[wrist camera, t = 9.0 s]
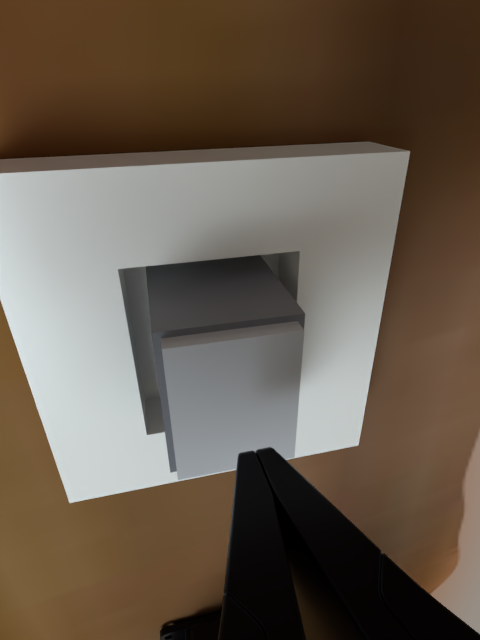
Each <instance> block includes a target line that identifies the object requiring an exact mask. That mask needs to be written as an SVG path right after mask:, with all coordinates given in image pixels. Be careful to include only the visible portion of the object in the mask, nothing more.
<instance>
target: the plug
mask: <svg viewBox="0 0 480 640" xmlns="http://www.w3.org/2000/svg"><path fill="white" fill-rule="evenodd" d="M146 278H147V289H148V300H149V312H150V323H151V334H152V341H153V348H154V356H155V363H156V370H157V378H158V385H159V392H160V400H161V407H162V415H163V422H164V429H165V437H166V444H167V451H168V459H169V466H170V473H171V472H176V471H177V476H178V480H181V479H186V478H192V477H197V476H202V475H207V474H212V473H217V472H222V471H227V470H233V469H236V468H237V458H238V454H239V453H241V452H246V451H251V450H253V451H256V450H257V449H262V448H267V447H272V448H274V449H275V450H276V451H277V452H278V453H279V454H280V455H281V456H282V457H283V458H284V459H289V458H294V456H295V444H296V431H297V418H298V406H299V393H300V380H301V368H302V355H303V342H304V324H305V313H304V311H303V310H302V309H301V307H300V306H299V305H298V303H297V302H296V301H295V300H294V298H293V297H292V296H291V294H290V293H289V292H288V291H287V289H286V288H285V287H284V285H283V284H282V283H281V281H280V280H279V279H278V278H277V276H276V275H275V274H274V272H273V271H272V270H271V269H270V267H269V266H268V265H267V263H266V262H265V261H264V260H263V258H262V257H261V256H260V255H255V256H245V257H235V258H225V259H215V260H205V261H195V262H185V263H175V264H165V265H155V266H146Z"/></svg>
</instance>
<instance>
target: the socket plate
mask: <svg viewBox="0 0 480 640" xmlns="http://www.w3.org/2000/svg"><path fill="white" fill-rule="evenodd" d="M409 156H410V151H408V150H403V149H399V148H394V147H390V146H386V145H381V144H377V143H373V142H348V143H327V144H306V145H285V146H265V147H244V148H223V149H203V150H182V151H161V152H140V153H120V154H99V155H78V156H58V157H37V158H16V159H0V300H1V303H2V306H3V309H4V312H5V315H6V318H7V321H8V324H9V326H10V329H11V332H12V335H13V338H14V341H15V344H16V347H17V350H18V353H19V356H20V359H21V362H22V365H23V368H24V370H25V373H26V376H27V379H28V382H29V385H30V388H31V391H32V394H33V397H34V400H35V403H36V406H37V409H38V412H39V415H40V417H41V420H42V423H43V426H44V429H45V432H46V435H47V438H48V441H49V444H50V447H51V450H52V453H53V456H54V459H55V461H56V464H57V467H58V470H59V473H60V476H61V479H62V482H63V485H64V488H65V491H66V494H67V497H68V500H69V503H72V502H77V501H82V500H87V499H92V498H97V497H102V496H107V495H112V494H117V493H122V492H127V491H132V490H137V489H142V488H147V487H152V486H157V485H162V484H167V483H172V482H177V481H182V480H187V479H192V478H197V477H202V476H207V475H212V474H217V473H222V472H227V471H232V470H227V471H222V472H217V473H212V474H207V475H202V476H197V477H192V478H186V479H181V480H178V476H177V471H176V472H171V473H170V466H169V459H168V451H167V444H166V437H165V429H164V422H163V415H162V407H161V400H160V392H159V385H158V378H157V370H156V363H155V356H154V348H153V341H152V334H151V323H150V312H149V300H148V289H147V278H146V266H155V265H165V264H175V263H185V262H195V261H205V260H215V259H225V258H235V257H245V256H255V255H260V256H261V257H262V258H263V260H264V261H265V262H266V263H267V265H268V266H269V267H270V269H271V270H272V271H273V272H274V274H275V275H276V276H277V278H278V279H279V280H280V281H281V283H282V284H283V285H284V287H285V288H286V289H287V291H288V292H289V293H290V294H291V296H292V297H293V298H294V300H295V301H296V302H297V303H298V305H299V306H300V307H301V309H302V310H303V311H304V313H305V324H304V342H303V355H302V368H301V380H300V393H299V406H298V418H297V431H296V444H295V456H294V458H297V457H302V456H307V455H312V454H317V453H322V452H327V451H332V450H337V449H342V448H347V447H352V446H357V445H359V440H360V434H361V428H362V423H363V417H364V411H365V406H366V400H367V394H368V389H369V383H370V377H371V372H372V366H373V360H374V354H375V349H376V343H377V337H378V332H379V326H380V320H381V315H382V309H383V303H384V298H385V292H386V286H387V281H388V275H389V269H390V264H391V258H392V252H393V247H394V241H395V235H396V230H397V224H398V218H399V213H400V207H401V201H402V196H403V190H404V184H405V179H406V173H407V167H408V162H409ZM289 459H292V458H289ZM285 460H287V459H285ZM233 470H236V469H233Z"/></svg>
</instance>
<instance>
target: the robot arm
mask: <svg viewBox="0 0 480 640" xmlns="http://www.w3.org/2000/svg"><path fill="white" fill-rule="evenodd" d="M160 640H480V634H479V633H477V632H476V631H475V630H474V629H472V628H471V627H470V626H469V625H467V624H466V623H465V622H463V621H462V620H461V619H460V618H458V617H457V616H456V615H455V614H453V613H452V612H451V611H450V610H448V609H447V608H446V607H444V606H443V605H442V604H441V603H439V602H438V601H437V600H436V599H435V598H433V597H432V596H431V595H430V594H429V593H427V592H426V591H425V590H424V589H423V588H421V587H420V586H419V585H418V584H417V583H416V582H415V581H414V580H412V579H411V578H410V577H409V576H408V575H407V574H406V573H405V572H404V571H403V570H401V569H400V568H399V567H398V566H397V565H396V564H395V563H394V562H393V561H392V560H391V559H390V558H389V557H388V556H387V555H386V554H384V553H382V555H381V550H380V549H379V548H378V547H377V546H376V545H375V544H374V543H373V542H372V541H371V540H370V539H369V538H367V537H366V536H365V535H364V534H363V533H362V532H361V531H360V530H359V529H358V528H357V527H356V526H355V525H354V524H353V523H352V522H351V521H350V520H349V519H347V518H346V517H345V516H344V515H343V514H342V513H341V512H340V511H339V510H338V509H337V508H336V507H335V506H334V505H333V504H332V503H331V502H330V501H329V500H327V499H326V498H325V497H324V496H323V495H322V494H321V493H320V492H319V491H318V490H317V489H316V488H315V487H314V486H313V485H312V484H311V483H310V482H308V481H307V480H306V479H305V478H304V477H303V476H302V475H301V474H300V473H299V472H298V471H297V470H296V469H295V468H294V467H293V466H292V465H291V464H290V463H288V462H287V461H286V460H285V459H284V458H283V457H282V456H281V455H280V454H279V453H278V452H277V451H276V450H275V449H274V448H272V447H267V448H262V449H257V450H256V451H253V450H251V451H246V452H241V453H239V454H238V458H237V468H236V478H235V488H234V497H233V507H232V517H231V527H230V537H229V546H228V556H227V566H226V576H225V585H224V595H223V603H222V612H220V613H216V614H212V615H209V616H205V617H201V618H197V619H193V620H190V621H186V622H182V623H178V624H175V625H171V626H167V627H164V628H163V629H161V631H160Z"/></svg>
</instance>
